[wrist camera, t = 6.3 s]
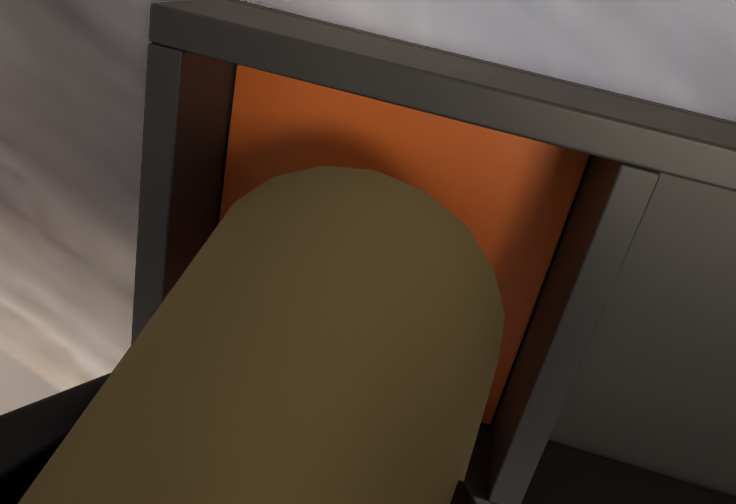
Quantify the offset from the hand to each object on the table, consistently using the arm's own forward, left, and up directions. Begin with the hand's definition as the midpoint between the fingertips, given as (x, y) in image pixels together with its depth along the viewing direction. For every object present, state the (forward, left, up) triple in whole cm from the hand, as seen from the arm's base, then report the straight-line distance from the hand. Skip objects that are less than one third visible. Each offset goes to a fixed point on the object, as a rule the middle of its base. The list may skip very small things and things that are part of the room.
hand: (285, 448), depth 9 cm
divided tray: (-4, 0, -8) cm, 9 cm away
